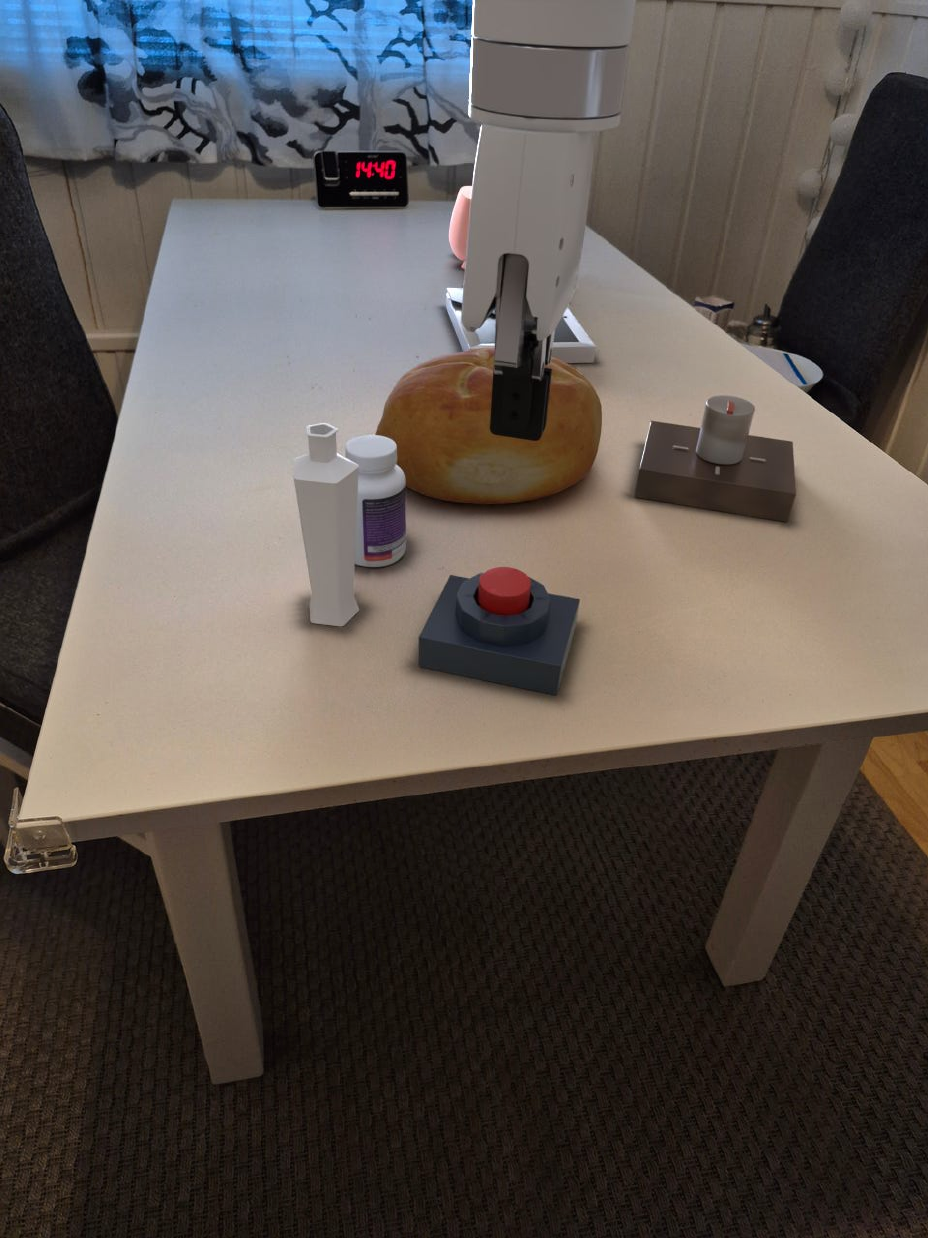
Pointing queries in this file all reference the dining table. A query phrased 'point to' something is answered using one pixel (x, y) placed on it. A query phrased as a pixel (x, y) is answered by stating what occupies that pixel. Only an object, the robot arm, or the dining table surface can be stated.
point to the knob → (724, 429)
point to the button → (504, 591)
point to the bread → (487, 433)
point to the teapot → (460, 223)
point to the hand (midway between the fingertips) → (517, 431)
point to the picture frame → (566, 345)
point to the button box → (499, 637)
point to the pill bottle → (378, 501)
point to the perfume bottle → (328, 524)
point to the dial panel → (717, 474)
